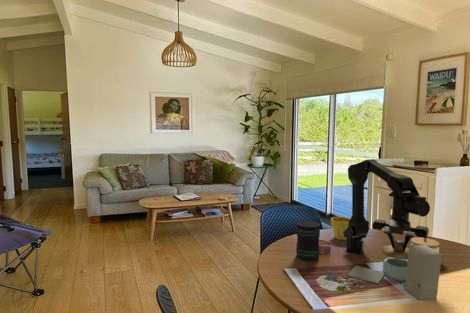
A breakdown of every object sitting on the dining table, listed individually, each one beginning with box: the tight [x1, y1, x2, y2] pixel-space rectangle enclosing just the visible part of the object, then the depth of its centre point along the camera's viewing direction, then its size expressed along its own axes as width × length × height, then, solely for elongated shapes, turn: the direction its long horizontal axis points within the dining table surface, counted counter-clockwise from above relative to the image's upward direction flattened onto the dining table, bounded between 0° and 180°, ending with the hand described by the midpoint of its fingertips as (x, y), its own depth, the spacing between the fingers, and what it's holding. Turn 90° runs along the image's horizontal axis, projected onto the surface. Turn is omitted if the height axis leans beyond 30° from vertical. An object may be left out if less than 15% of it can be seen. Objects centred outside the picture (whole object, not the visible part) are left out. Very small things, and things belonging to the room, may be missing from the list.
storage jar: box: [295, 219, 321, 262], centre depth 143 cm, size 10×10×15 cm
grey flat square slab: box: [347, 265, 386, 285], centre depth 126 cm, size 11×11×1 cm
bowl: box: [382, 257, 408, 281], centre depth 127 cm, size 10×10×4 cm
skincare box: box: [404, 244, 443, 301], centre depth 111 cm, size 8×7×16 cm
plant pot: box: [330, 216, 351, 241], centre depth 169 cm, size 10×10×10 cm
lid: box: [381, 239, 409, 260], centre depth 126 cm, size 12×12×4 cm
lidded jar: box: [410, 237, 440, 253], centre depth 142 cm, size 11×11×9 cm
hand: (398, 250), depth 126 cm, fingers closed on lid, 3 cm apart
